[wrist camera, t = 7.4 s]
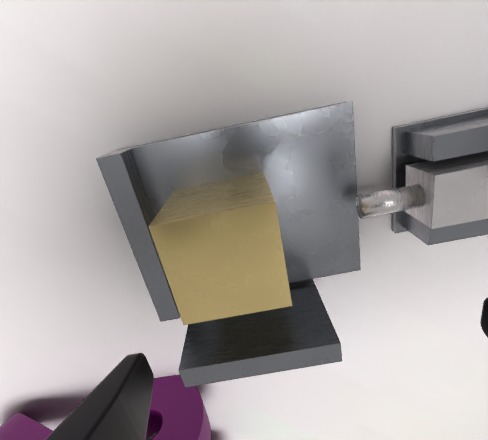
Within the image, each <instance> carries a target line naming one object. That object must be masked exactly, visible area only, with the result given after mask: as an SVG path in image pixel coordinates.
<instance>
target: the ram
mask: <svg viewBox="0 0 488 440" xmlns="http://www.w3.org/2000/svg"><path fill="white" fill-rule="evenodd" d="M355 207H356V211H357V214H358V216H359V217H360V218H367V217H372V216H377V215H383V214H388V213H393V212H398V211H404V210H405V212H406V213H408V214H409V215H411V216H413V217H414V218H416V219H417V220H419V221H420V222H422V223H423V224H425V225H427V226H428V227H430V228H431V229H434V228H440V227H445V226H451V225H456V224H461V223H467V222H472V221H477V220H483V219H488V151H484V152H479V153H474V154H469V155H464V156H459V157H454V158H449V159H444V160H439V161H434V162H432V161H424V162H419V163H414V164H409V165H406V186H404V187H399V188H394V189H389V190H383V191H378V192H373V193H368V194H363V195H358V196H356V198H355Z"/></svg>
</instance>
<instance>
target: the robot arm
mask: <svg viewBox="0 0 488 440" xmlns="http://www.w3.org/2000/svg"><path fill="white" fill-rule="evenodd" d="M481 327H482V330H483V332H484V333H485V335H486V336H487V337H488V298H486V299H485V300H484V303H483V309H482V316H481ZM153 383H154V377H153V373H152V370H151V368H150V366H149V364H148V361H147V359H146V357H145V355H144V354H143V353H137V354H131V355H128V356H126V357H125V358H124V359H123V360H122V361H121V362H120V363H119V364H118V365H117V366H116V367H115V368H114V369H113V370H112V371H111V372H110V373H109V374H108V376H107V377H106V378H105V379H104V380H103V381H102V382H101V383H100V384H99V385H98V386H97V387H96V388H95V389H94V390H93V391H92V392H91V393H90V394H89V395H88V396H87V397H86V398H85V399H84V400H83V401H82V402H81V403H80V404H79V405H78V406H77V407H76V408H75V409H74V410H73V411H72V412H71V414H70V415H69V416H68V417H67V418H66V419H65V420H64V421H63V422H62V423H61V424H60V425H59V426H58V427H57V428H56V429H55V430H54V431H53V432H52V433H51V434H50V435H49V436H48V437H47V438H46V439H45V440H145V438H146V432H147V425H148V418H149V411H150V404H151V397H152V390H153Z"/></svg>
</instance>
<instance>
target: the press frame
mask: <svg viewBox="0 0 488 440" xmlns="http://www.w3.org/2000/svg"><path fill="white" fill-rule="evenodd" d="M484 151H488V108H483V109H478V110H474V111H469V112H464V113H459V114H454V115H449V116H444V117H439V118H435V119H430V120H425V121H420V122H415V123H410V124H405V125H400V126H396V127H393V147H392V189H394V188H399V187H404V186H406V165H409V164H414V163H419V162H424V161H432V162H434V161H439V160H444V159H449V158H454V157H459V156H464V155H469V154H474V153H479V152H484ZM96 159H97V162H98V165H99V167H100V170H101V172H102V175H103V177H104V180H105V182H106V185H107V187H108V190H109V192H110V195H111V197H112V200H113V202H114V205H115V207H116V210H117V213H118V215H119V218H120V220H121V223H122V225H123V228H124V230H125V233H126V235H127V238H128V240H129V243H130V245H131V248H132V250H133V253H134V256H135V258H136V261H137V263H138V266H139V268H140V271H141V273H142V276H143V278H144V281H145V283H146V286H147V288H148V291H149V293H150V296H151V298H152V301H153V304H154V306H155V309H156V311H157V314H158V316H159V319H160V321H167V320H172V319H178V318H180V313H179V311H178V308H177V305H176V302H175V299H174V297H173V294H172V291H171V288H170V285H169V283H168V280H167V277H166V274H165V271H164V269H163V266H162V263H161V260H160V257H159V255H158V252H157V249H156V246H155V243H154V241H153V238H152V235H151V232H150V229H149V225H150V224H151V222H152V221H153V220H154V218H155V217H156V215H157V214H158V212H159V211H160V210H161V208H162V207H163V205H164V204H165V202H166V201H167V200H168V198H169V197H170V195H171V194H172V193H173V191H174V190H178V189H183V188H188V187H193V186H198V185H203V184H208V183H213V182H218V181H223V180H228V179H233V178H238V177H242V176H247V175H252V174H257V173H262V172H263V173H264V175H265V178H266V180H267V182H268V185H269V187H270V190H271V192H272V195H273V197H274V200H275V203H276V209H277V215H278V221H279V227H280V232H281V238H282V246H283V252H284V258H285V264H286V270H287V276H288V282H289V288H290V295H291V301H292V306H289V307H283V308H278V309H272V310H267V311H261V312H255V313H250V314H244V315H238V316H233V317H227V318H221V319H216V320H210V321H204V322H199V323H193V324H188V329H187V334H186V338H185V343H184V348H183V352H182V357H181V362H180V366H179V373H180V375H181V378H182V380H183V383H184V385H185V387H190V386H196V385H202V384H208V383H214V382H220V381H226V380H232V379H238V378H244V377H250V376H256V375H262V374H268V373H274V372H280V371H286V370H292V369H298V368H304V367H310V366H316V365H322V364H328V363H334V362H340V361H342V354H341V343H340V341H339V338H338V336H337V334H336V332H335V329H334V327H333V325H332V322H331V320H330V318H329V316H328V313H327V311H326V309H325V306H324V304H323V302H322V300H321V297H320V295H319V293H318V291H317V288H316V286H315V284H314V281H313V278H319V277H324V276H330V275H335V274H341V273H346V272H352V271H357V270H361V269H360V248H359V227H358V214H357V211H356V207H355V198H356V196H357V185H356V165H355V144H354V123H353V102H343V103H338V104H334V105H329V106H324V107H319V108H315V109H310V110H305V111H300V112H296V113H291V114H286V115H282V116H277V117H272V118H267V119H263V120H258V121H253V122H248V123H244V124H239V125H234V126H229V127H225V128H220V129H215V130H210V131H206V132H201V133H196V134H192V135H187V136H182V137H177V138H173V139H168V140H163V141H158V142H154V143H149V144H144V145H139V146H135V147H130V148H125V149H120V150H116V151H114V152H111V153H109V154H106V155H104V156H101V157H98V158H96ZM392 231H394V232H395V233H399V232H405V231H409V232H411V233H412V234H413V235H415V236H416V237H417V238H419V239H420V240H422V241H423V242H424V243H426V244H427V245H432V244H438V243H443V242H448V241H454V240H459V239H465V238H470V237H476V236H481V235H487V234H488V219H483V220H477V221H472V222H467V223H461V224H456V225H451V226H445V227H440V228H434V229H431V228H430V227H428V226H427V225H425V224H423V223H422V222H420V221H419V220H417V219H416V218H414V217H413V216H411V215H409V214H408V213H406V212H405V210H404V211H398V212H393V213H392Z"/></svg>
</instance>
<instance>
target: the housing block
mask: <svg viewBox="0 0 488 440" xmlns="http://www.w3.org/2000/svg"><path fill="white" fill-rule="evenodd" d="M149 229H150V232H151V235H152V238H153V241H154V243H155V246H156V249H157V252H158V255H159V257H160V260H161V263H162V266H163V269H164V271H165V274H166V277H167V280H168V283H169V285H170V288H171V291H172V294H173V297H174V299H175V302H176V305H177V308H178V311H179V313H180V316H181V319H182V322H183V325H187V324H193V323H199V322H204V321H210V320H216V319H221V318H227V317H233V316H238V315H244V314H250V313H255V312H261V311H267V310H272V309H278V308H283V307H289V306H292V301H291V295H290V288H289V282H288V276H287V270H286V264H285V258H284V252H283V246H282V238H281V232H280V227H279V221H278V215H277V209H276V203H275V200H274V197H273V195H272V192H271V190H270V187H269V185H268V182H267V180H266V178H265V175H264V173H263V172H262V173H257V174H252V175H247V176H242V177H238V178H233V179H228V180H223V181H218V182H213V183H208V184H203V185H198V186H193V187H188V188H183V189H178V190H174V191H173V193H172V194H171V195H170V197H169V198H168V200H167V201H166V202H165V204H164V205H163V207H162V208H161V210H160V211H159V212H158V214H157V215H156V217H155V218H154V220H153V221H152V222H151V224H150V225H149Z"/></svg>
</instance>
